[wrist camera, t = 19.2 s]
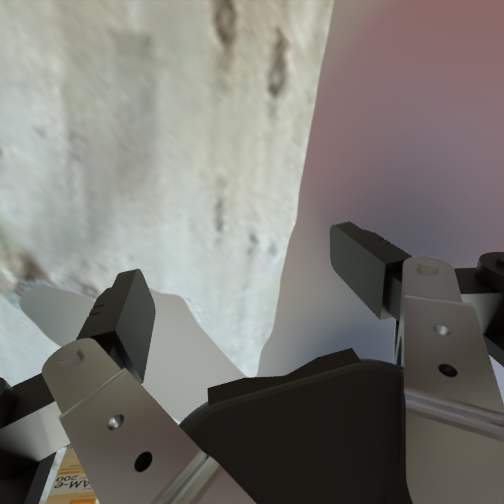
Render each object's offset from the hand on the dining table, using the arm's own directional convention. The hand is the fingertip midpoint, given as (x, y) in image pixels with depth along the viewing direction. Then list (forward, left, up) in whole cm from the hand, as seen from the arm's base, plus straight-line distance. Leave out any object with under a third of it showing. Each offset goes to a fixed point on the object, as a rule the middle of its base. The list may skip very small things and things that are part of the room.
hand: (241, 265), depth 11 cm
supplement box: (-37, -52, -30) cm, 71 cm away
